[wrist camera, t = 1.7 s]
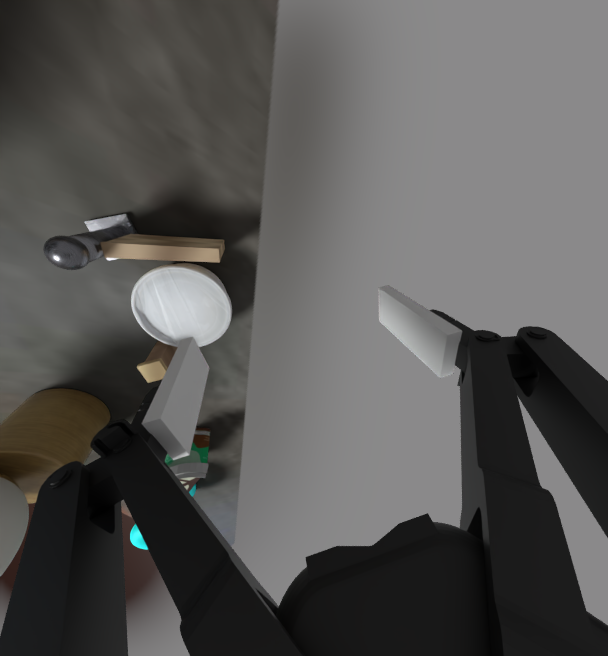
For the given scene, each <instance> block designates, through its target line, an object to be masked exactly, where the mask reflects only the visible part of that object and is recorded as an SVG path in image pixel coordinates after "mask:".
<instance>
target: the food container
mask: <svg viewBox="0 0 608 656" xmlns="http://www.w3.org/2000/svg"><path fill="white" fill-rule="evenodd" d="M210 430H211V429H208V428H199V427H196V429H195V433H194V437H193V442H192V446H191V451H190V455H188V456H185V457H182V458H178V459H175V460H173V459H172V458H171V457H170V456H169V455H168V454H167V456H166V459H165V463H166V464H167V465H168V466H169V467H170V469H171V470H172V471H173V473H174V474H175V475H176V476H177V478H178V479H179V480H180V482H181V483H182V484H183V486H184V487H185V488H186V489H187V491H188V492H190V490H191V489H192V488H193V486H194V485H195V484H196V482H197V481H198V480H199V479H200V478H205V477H206V473H207V470H208V465H209V464H207V460H208V450H209V440H210Z"/></svg>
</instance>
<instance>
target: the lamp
mask: <svg viewBox="0 0 608 656" xmlns="http://www.w3.org/2000/svg"><path fill="white" fill-rule="evenodd" d="M109 422H110V411H109V409H108V407H107V406H106V405H105V404H104V403H103V402H102V401H101V400H99V399H98V398H96V397H95V396H93V395H91V394H88V393H85V392H82V391H79V390H74V389H66V388H55V389H47V390H43V391H40V392H37V393H35V394H33V395H32V396H30V397H29V398H28V399H27V400H26V401H24V402H23V403H22V404H21V405H20V406H19V407H18V408H17V409H16V410H15V411H14V412H12V413H11V414H10V415H9V416H8V417H7V418H6V419H5V420H4V421H3V422H2V423H0V576H1V575H2V574H3V573H4V571H5V570H6V568H7V567H8V566H9V564H10V563H11V561H12V559H13V558H14V556H15V554H16V553H17V551H18V549H19V547H20V545H21V543H22V540H23V538H24V535H25V532H26V529H27V525H28V518H29V508H28V504H29V503H36V500H37V496H38V492H39V490H40V488H41V486H42V484H43V483H44V482H45V481H46V479H47V478H48V477H49V476H50V475H51V474H53V472H55V471H56V470H58V469H59V468H60V467H62V466H63V465H66V464H68V463H70V462H74V461H79V462H81V463H82V464H84V463H85V461H86V460H87V458H88V457H89V455H90V453H91V452H92V450H93V449H92V448H91V447H90V443H91V441H92V439H93V437H94V436H95V435H96V434H97V433H98V432H99V431H100V430H101V429H103V428H104V427H105V426H107V425H108V424H109Z"/></svg>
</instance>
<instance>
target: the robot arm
mask: <svg viewBox="0 0 608 656" xmlns="http://www.w3.org/2000/svg"><path fill="white" fill-rule="evenodd" d="M379 321H380V322H381V323H382V324H383V325H384V326H385V327H386V328H387V329H388V330H389V331H391V333H393V334H394V335H395V336H396V337H397V338H398V339H399V340H400V341H401V342H402V343H403V344H404V345H405V346H406V347H407V348H408V349H410V350H411V351H412V352H413V353H414V354H415V355H416V356H417V357H418V358H419V359H420V360H421V361H422V362H423V363H424V364H426V365H427V366H428V367H429V368H430V369H431V370H432V371H433V372H434V373H435V374H436V375H437V376H438V377H439V378H442V377H446V376H449V375H452V374H453V373H454V368H455V365H456V366H457V367H458V368H459V369H461V372H460V377H459V382H458V386H460V405H461V406H460V407H461V462H462V463H461V465H462V513H461V520H460V528H458V527H455V526H452V525H448V524H444V523H438V522H432V520H431V518H430V517H429V515H428V514H425V515H422V516H419V517H416V518H414V519H411V520H408V521H405V522H402V523H400V524H398V525H397V526H396V527H395V528H393V529H392V530H391V531H390V532H389V533H387V534H386V535H385V536H384V537H383V538H381V539H380V540H379V541H378V542H377V543H375V544H374V545H372V546H336V547H333V548H330V549H328V550H325V551H322V552H319V553H317V554H313V555H311V556H308V557H306V563H307V567H306V568H305V569H304V570H303V571H302V572H301V573H300V574H299V575H298V576H297V577H296V578H295V579H294V581H293V582H292V583H291V585H290V586H289V588H288V589H287V591H286V593H285V595H284V596H283V599H282V601H281V603H280V605H279V606H278V605H277V604H276V603H275V601H274V600H273V599H272V598H271V596H270V595H269V594H268V593H267V592H266V590H265V589H264V588H263V587H262V586H261V585H260V583H259V582H258V581H257V580H256V578H255V577H254V576H253V575H252V573H251V572H250V571H249V569H248V568H247V567H246V566H245V564H244V563H243V562H242V560H241V559H240V558H239V557H238V555H237V554H236V553H235V552H234V550H233V549H232V547H231V546H230V545H229V544H228V542H227V541H226V540H225V538H224V537H223V536H222V535H221V533H220V532H219V531H218V529H217V528H216V527H215V526H214V524H213V523H212V522H211V520H210V519H209V518H208V517H207V515H206V514H205V513H204V511H203V510H202V509H201V507H200V506H199V505H198V504H197V502H196V501H195V500H194V498H193V497H192V496H191V495H190V493H189V492H188V491H187V489H186V488H185V487H184V486H183V484H182V483H181V482H180V480H179V479H178V478H177V476H176V475H175V474H174V473H173V471H172V470H171V469H170V467H169V466H168V465H167V464H166V463H165V459H166V456H167V454H168V455H169V456H170V457H171V458H172V459H173V460H175V459H178V458H182V457H185V456H188V455H190V451H191V446H192V442H193V437H194V433H195V429H196V424H197V420H198V416H199V411H200V407H201V402H202V398H203V394H204V389H205V385H206V381H207V376H208V372H209V366H208V364H207V362H206V360H205V359H204V357H203V355H202V353H201V351H200V349H199V347H198V345H197V343H196V341H195V339H194V338H193V337H190V338H186V339H182V340H181V341H180V344H179V346H178V348H177V350H176V352H175V354H174V356H173V358H172V361H171V363H170V365H169V367H168V369H167V371H166V373H165V375H164V377H163V380H162V382H161V384H160V386H158V387H155V388H153V389H152V390H151V391H150V392H149V393H148V394H147V395H146V397H145V398H144V400H143V402H142V405H141V406H140V408H139V412H137V414H136V416H135V418H134V420H133V422H132V424H130V423H129V422H128V421H126V420H124V419H123V420H117V421H114V422H112V423H110V424H108V425H107V426H105V427H104V428H103V429H101V430H100V431H99V432H98V433H97V434H96V435H95V436H94V437H93V439H92V441H91V443H90V447H91V448H92V449H93V450H94V451H95V452H96V453H98V454H99V455H100V456H101V458H99V459H97V460H95V461H93V462H91V463H90V464H88V465H86V466H85V465H84V464H82V463H81V462H79V461H74V462H70V463H68V464H66V465H63V466H62V467H60V468H59V469H58V470H56V471H55V472H53V474H51V475H50V476H49V477H48V478H47V479H46V481H45V482H44V483H43V484H42V486H41V488H40V490H39V492H38V496H37V500H36V504H35V507H34V512H33V515H32V519H31V523H30V526H29V530H28V534H27V538H26V541H25V545H24V549H23V553H22V556H21V561H20V564H19V568H18V572H17V575H16V579H15V583H14V587H13V590H12V595H11V598H10V602H9V605H8V609H7V613H6V617H5V621H4V624H3V629H2V632H1V636H0V656H128V647H127V625H126V601H125V579H124V557H123V535H122V513H121V501H122V500H123V499H124V501H125V503H126V505H127V507H128V509H129V511H130V513H131V515H132V517H133V519H134V521H135V523H136V525H137V527H138V529H139V531H140V533H141V535H142V537H143V540H144V542H145V544H146V546H147V548H148V550H149V552H150V554H151V556H152V558H153V560H154V562H155V564H156V566H157V568H158V570H159V572H160V574H161V576H162V578H163V580H164V582H165V584H166V586H167V588H168V590H169V592H170V595H171V597H172V599H173V600H174V603H175V605H176V607H177V609H178V611H179V613H180V616H181V620H182V621H181V625H180V631H181V635H182V638H183V641H184V643H185V645H186V648H187V650H188V652H189V654H190V656H608V625H606V624H605V623H603V622H602V621H600V620H599V619H597V618H596V617H594V616H593V615H591V614H590V613H588V612H587V611H586V608H585V605H584V601H583V598H582V594H581V591H580V587H579V584H578V580H577V577H576V573H575V570H574V566H573V563H572V559H571V556H570V552H569V549H568V545H567V542H566V538H565V535H564V531H563V528H562V525H561V520H560V517H559V513H558V510H557V507H556V504H555V501H554V498H553V496H552V495H551V493H550V492H549V491H548V490H546V489H543V488H542V487H541V486H540V483H539V480H538V476H537V472H536V468H535V464H534V460H533V456H532V452H531V448H530V444H529V440H528V437H527V433H526V429H525V425H524V421H523V417H522V413H521V409H520V405H519V401H518V397H519V399H520V400H521V402H522V404H523V405H524V407H525V408H526V410H527V411H528V413H529V415H530V416H531V418H532V419H533V421H534V423H535V424H536V425H537V427H538V428H539V430H540V432H541V433H542V435H543V437H544V438H545V440H546V441H547V443H548V445H549V446H550V447H551V449H552V451H553V452H554V454H555V456H556V457H557V459H558V460H559V462H560V463H561V465H562V466H563V468H564V470H565V471H566V473H567V474H568V476H569V477H570V479H571V481H572V482H573V484H574V485H575V487H576V489H577V490H578V492H579V493H580V495H581V497H582V498H583V500H584V501H585V503H586V504H587V506H588V508H589V509H590V511H591V512H592V514H593V515H594V517H595V518H596V520H597V522H598V523H599V525H600V526H601V528H602V530H603V531H604V533H605V534H606V536H607V537H608V381H607V380H606V379H605V378H604V377H603V376H602V375H600V374H599V373H598V372H597V371H596V370H595V369H594V368H593V367H592V366H590V365H589V364H588V363H587V362H586V361H585V360H584V359H583V358H582V357H580V356H579V355H578V354H577V353H576V352H575V351H574V350H573V349H572V348H570V347H569V346H568V345H567V344H566V343H565V342H564V341H563V340H562V339H560V338H559V337H558V336H557V335H556V334H555V333H553V332H552V331H550V330H547V329H544V328H541V327H531V326H529V327H523V328H520V329H519V331H518V333H517V336H514V337H501V336H499V335H498V334H496V333H493V332H490V331H485V330H477V331H474V330H472V329H470V328H469V327H467V326H465V325H463V324H462V323H460V322H458V321H455V319H453V318H451V317H449V316H448V315H446V314H445V313H443V312H440V311H437V310H428V309H426V308H425V307H423V306H422V305H420V304H418V303H417V302H415V301H413V300H412V299H410V298H408V297H407V296H405V295H404V294H402V293H400V292H399V291H397V290H396V289H394V288H393V287H391V286H389V285H387V286H383V287H380V288H379ZM517 396H518V397H517Z"/></svg>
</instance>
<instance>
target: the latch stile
mask: <svg viewBox="0 0 608 656" xmlns="http://www.w3.org/2000/svg"><path fill="white" fill-rule="evenodd" d="M177 348H178V347H175V346H171V345H168V344H165V343H163V342H161V341H159V340H158V341H157V343H156V344H155V346H154V347H153V349H152V351H151V352H150V354H149V356H148V357H147V359H146V360H145V362H143V363H140V364H138V366H137V368H138V370H139V371H140V372H141V374H142V375H143V377H144V378H145V379H146V381H147V382H148V383H149V382H153V381H157V380H161V379H163V377H164V375H165V373H166V371H167V369H168V367H169V365H170V363H171V361H172V358H173V356H174V354H175V352H176V350H177Z"/></svg>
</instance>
